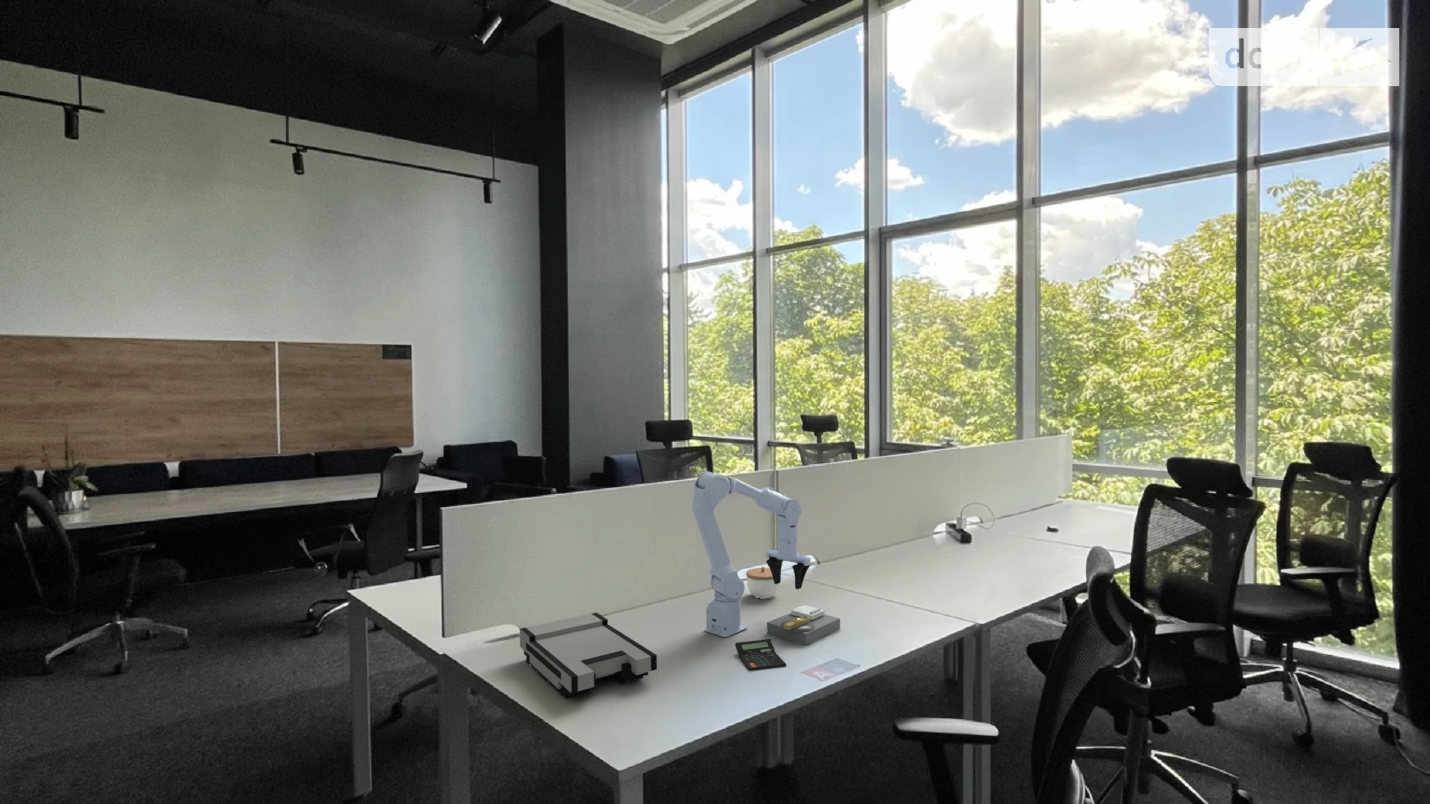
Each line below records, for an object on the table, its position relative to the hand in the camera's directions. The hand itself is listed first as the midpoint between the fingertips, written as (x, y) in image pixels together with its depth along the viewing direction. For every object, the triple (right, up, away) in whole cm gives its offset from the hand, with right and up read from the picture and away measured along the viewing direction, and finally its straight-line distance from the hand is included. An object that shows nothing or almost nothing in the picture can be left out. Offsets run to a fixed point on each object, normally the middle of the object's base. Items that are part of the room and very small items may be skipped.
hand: (787, 585), depth 202 cm
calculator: (-10, -11, -29) cm, 33 cm away
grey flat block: (+3, -10, -10) cm, 14 cm away
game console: (-52, -12, -35) cm, 64 cm away
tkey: (+1, -7, -15) cm, 16 cm away
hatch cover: (+5, -6, -6) cm, 10 cm away
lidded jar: (-6, -9, +22) cm, 25 cm away
